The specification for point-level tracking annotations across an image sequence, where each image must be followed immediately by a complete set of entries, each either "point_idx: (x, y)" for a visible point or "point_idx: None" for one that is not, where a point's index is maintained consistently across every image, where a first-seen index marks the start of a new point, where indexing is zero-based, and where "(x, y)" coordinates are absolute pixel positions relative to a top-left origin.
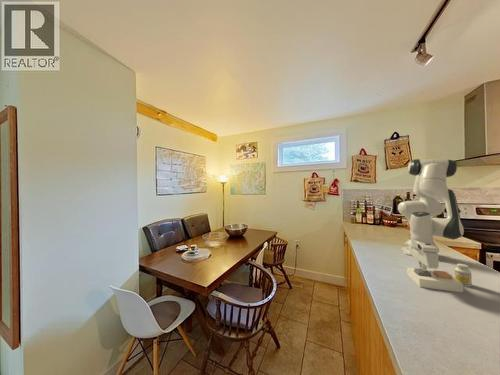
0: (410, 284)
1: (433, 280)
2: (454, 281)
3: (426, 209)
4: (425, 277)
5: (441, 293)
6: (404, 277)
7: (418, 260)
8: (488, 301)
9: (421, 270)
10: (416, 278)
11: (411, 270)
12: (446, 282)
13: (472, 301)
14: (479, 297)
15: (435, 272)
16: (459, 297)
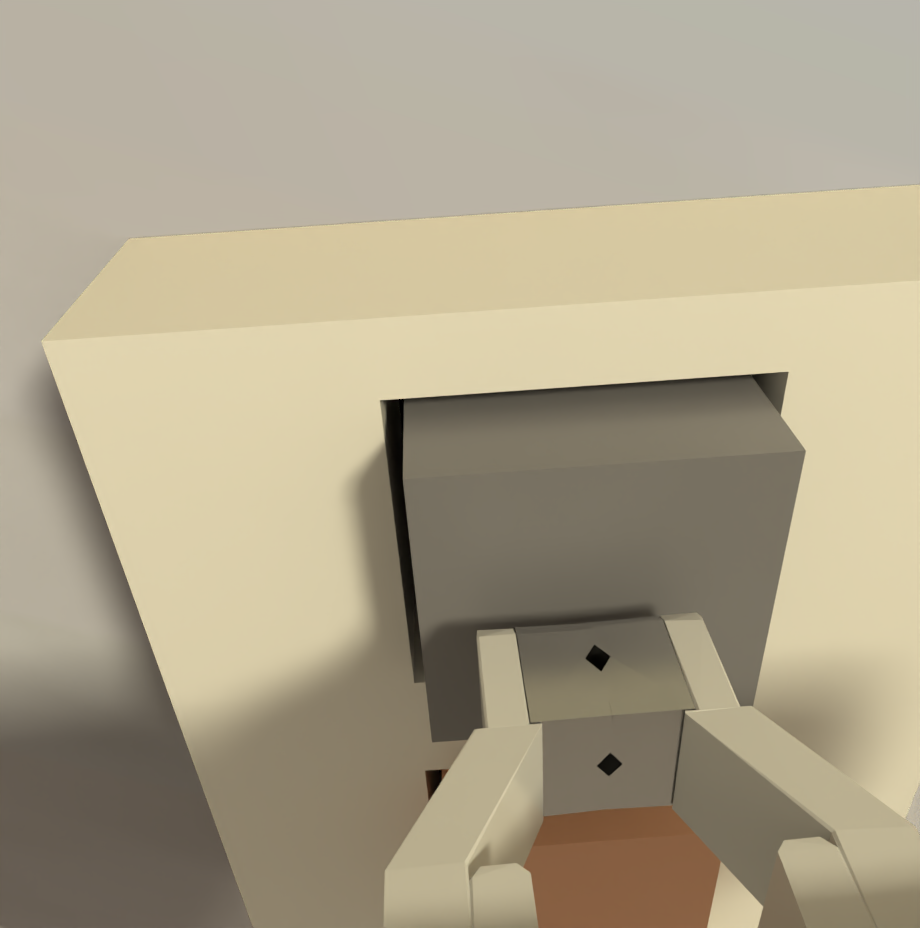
0: (178, 24)
1: (150, 642)
2: (327, 912)
3: None
4: (286, 536)
5: (30, 552)
6: (704, 3)
7: (872, 908)
8: (139, 925)
9: (627, 600)
10: (291, 286)
11: (803, 321)
12: (218, 806)
13: (2, 809)
14: (216, 896)
15: (609, 823)
16: (41, 727)
